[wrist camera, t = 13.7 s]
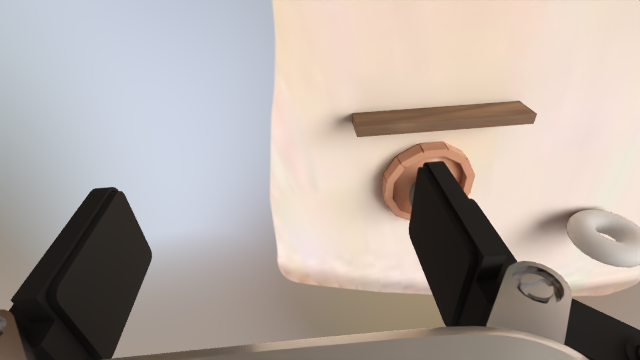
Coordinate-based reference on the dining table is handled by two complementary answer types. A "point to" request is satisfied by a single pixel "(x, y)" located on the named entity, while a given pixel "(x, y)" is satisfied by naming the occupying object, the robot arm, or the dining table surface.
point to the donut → (583, 232)
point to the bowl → (405, 172)
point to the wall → (442, 118)
